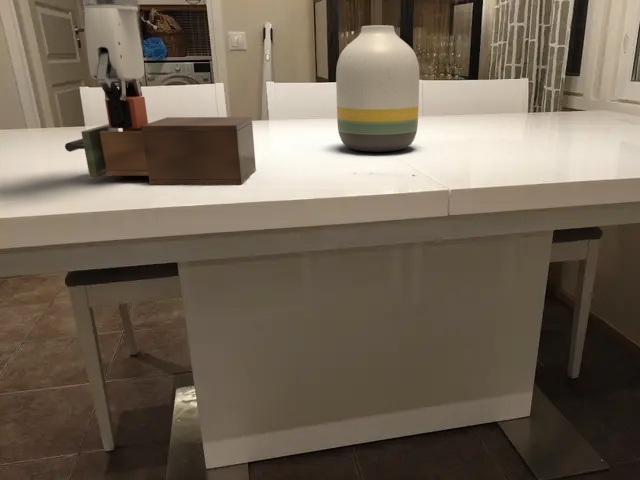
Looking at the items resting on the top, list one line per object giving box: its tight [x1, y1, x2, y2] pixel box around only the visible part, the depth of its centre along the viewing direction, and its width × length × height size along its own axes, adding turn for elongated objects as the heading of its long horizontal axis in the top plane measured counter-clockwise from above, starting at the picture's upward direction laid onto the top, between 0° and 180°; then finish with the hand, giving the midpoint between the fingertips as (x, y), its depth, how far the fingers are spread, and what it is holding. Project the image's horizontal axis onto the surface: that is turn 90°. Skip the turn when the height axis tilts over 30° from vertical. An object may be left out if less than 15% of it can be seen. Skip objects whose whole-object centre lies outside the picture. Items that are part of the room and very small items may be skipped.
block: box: [104, 96, 149, 128], centre depth 89 cm, size 4×4×4 cm
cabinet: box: [141, 116, 257, 186], centre depth 91 cm, size 15×12×9 cm
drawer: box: [64, 123, 148, 179], centre depth 92 cm, size 18×10×7 cm, turn 89°
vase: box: [335, 25, 420, 153], centre depth 114 cm, size 17×17×24 cm
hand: (128, 124), depth 90 cm, fingers closed on block, 4 cm apart
